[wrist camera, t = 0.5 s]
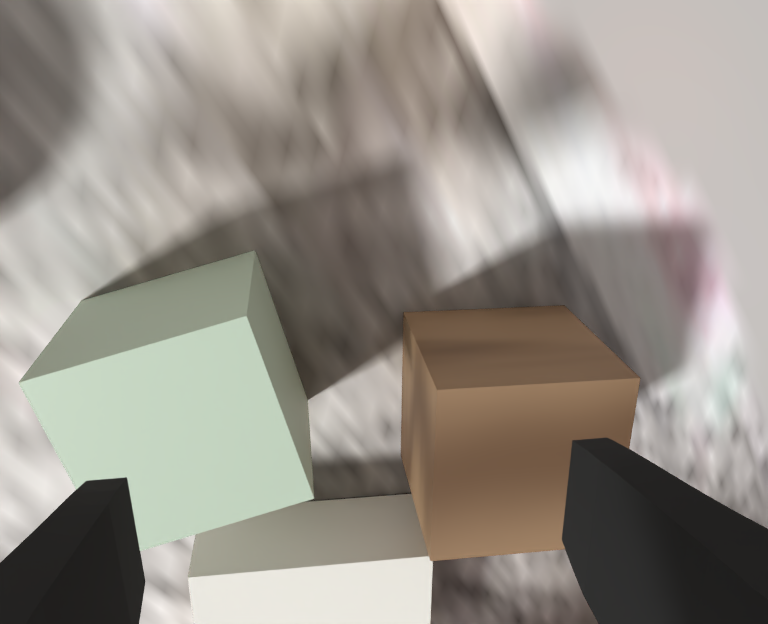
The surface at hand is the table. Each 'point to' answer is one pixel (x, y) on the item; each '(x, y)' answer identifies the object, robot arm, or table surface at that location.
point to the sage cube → (179, 399)
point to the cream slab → (315, 566)
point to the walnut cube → (503, 422)
